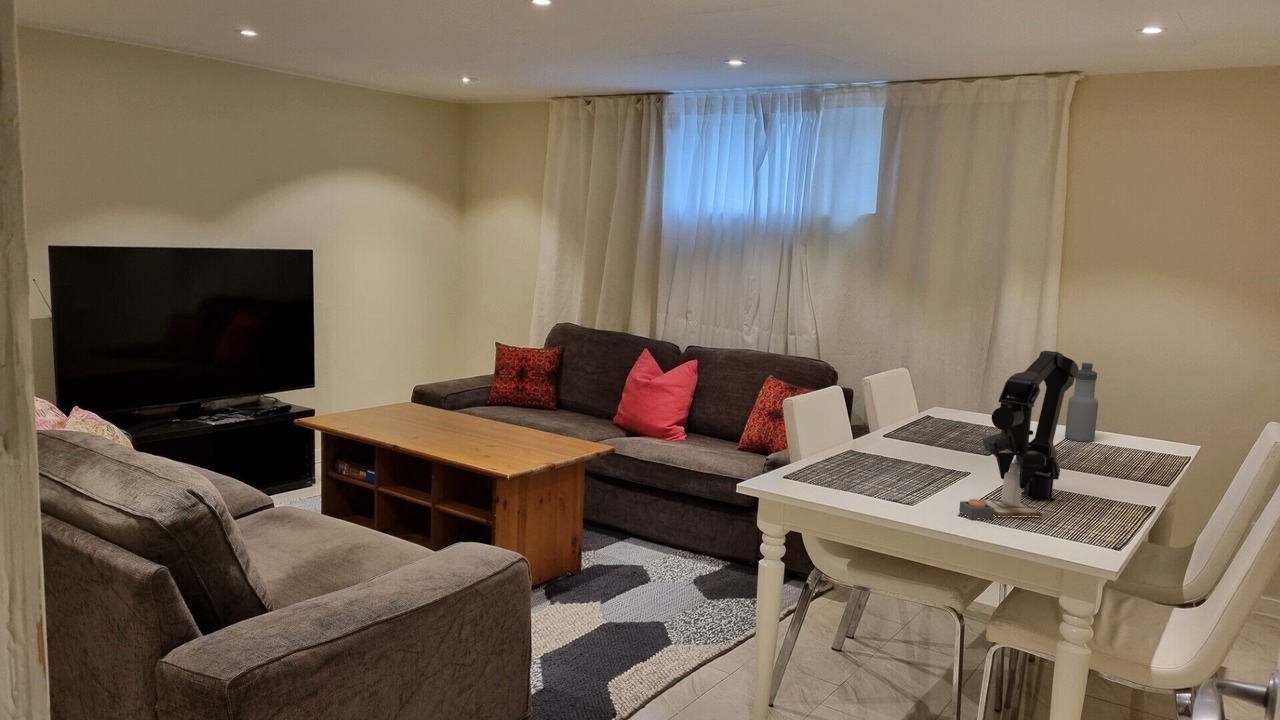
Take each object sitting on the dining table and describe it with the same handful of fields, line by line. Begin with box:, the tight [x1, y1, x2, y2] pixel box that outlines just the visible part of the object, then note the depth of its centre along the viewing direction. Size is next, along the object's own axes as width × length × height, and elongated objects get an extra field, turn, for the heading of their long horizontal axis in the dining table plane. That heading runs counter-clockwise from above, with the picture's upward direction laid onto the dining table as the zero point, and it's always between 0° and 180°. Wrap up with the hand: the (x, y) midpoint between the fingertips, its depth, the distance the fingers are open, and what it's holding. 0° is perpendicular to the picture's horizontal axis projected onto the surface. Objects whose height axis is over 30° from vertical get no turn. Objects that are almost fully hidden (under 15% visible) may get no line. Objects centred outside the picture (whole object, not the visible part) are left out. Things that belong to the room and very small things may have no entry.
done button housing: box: [958, 500, 994, 520], centre depth 233 cm, size 6×6×3 cm
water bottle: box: [1064, 362, 1099, 443], centre depth 333 cm, size 10×10×28 cm
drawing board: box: [983, 500, 1042, 517], centre depth 239 cm, size 12×11×2 cm
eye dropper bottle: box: [1000, 458, 1023, 507], centre depth 240 cm, size 4×6×12 cm
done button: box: [968, 499, 985, 508], centre depth 233 cm, size 4×4×2 cm
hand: (1012, 483), depth 240 cm, fingers open, 9 cm apart
